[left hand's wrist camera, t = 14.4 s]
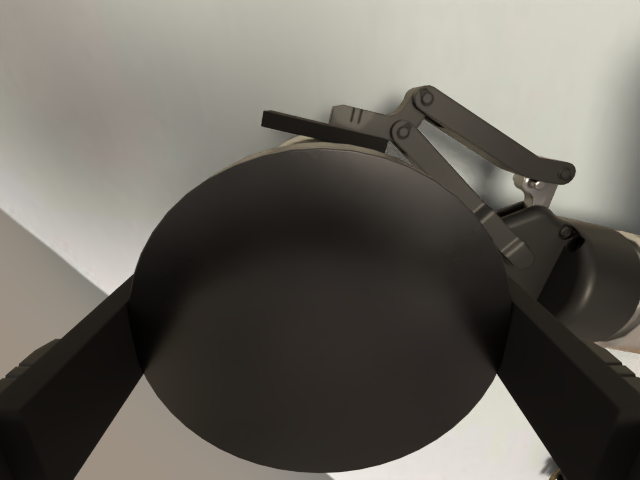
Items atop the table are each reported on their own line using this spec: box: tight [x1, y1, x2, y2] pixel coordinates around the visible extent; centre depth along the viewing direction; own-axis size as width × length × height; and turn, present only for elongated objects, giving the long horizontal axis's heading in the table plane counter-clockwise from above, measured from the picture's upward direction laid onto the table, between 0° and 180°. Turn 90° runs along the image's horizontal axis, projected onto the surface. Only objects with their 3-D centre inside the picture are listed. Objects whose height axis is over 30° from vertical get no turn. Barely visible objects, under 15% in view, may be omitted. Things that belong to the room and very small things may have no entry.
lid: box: [129, 142, 512, 473], centre depth 12 cm, size 12×12×2 cm
